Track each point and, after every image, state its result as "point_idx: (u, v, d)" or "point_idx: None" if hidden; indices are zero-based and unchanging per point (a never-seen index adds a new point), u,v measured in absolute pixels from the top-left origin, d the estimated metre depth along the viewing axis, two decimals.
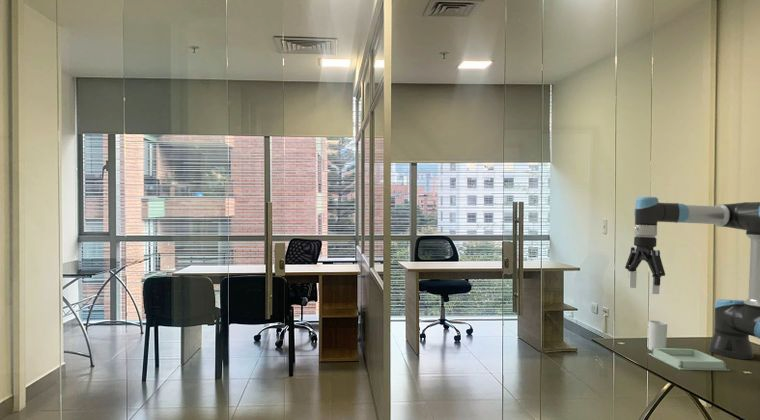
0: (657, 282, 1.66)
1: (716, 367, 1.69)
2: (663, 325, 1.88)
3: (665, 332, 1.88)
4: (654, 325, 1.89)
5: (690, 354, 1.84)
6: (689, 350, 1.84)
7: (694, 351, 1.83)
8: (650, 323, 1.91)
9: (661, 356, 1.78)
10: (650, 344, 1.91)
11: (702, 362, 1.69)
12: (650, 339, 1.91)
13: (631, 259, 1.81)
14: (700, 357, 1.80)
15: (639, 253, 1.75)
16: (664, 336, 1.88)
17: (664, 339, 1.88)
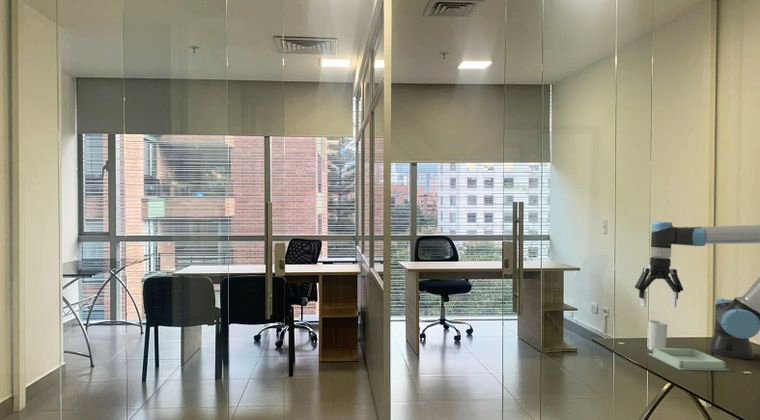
0: (639, 295, 1.92)
1: (716, 367, 1.69)
2: (663, 325, 1.88)
3: (665, 332, 1.88)
4: (654, 325, 1.89)
5: (690, 354, 1.84)
6: (689, 350, 1.84)
7: (694, 351, 1.83)
8: (650, 323, 1.91)
9: (661, 356, 1.78)
10: (650, 344, 1.91)
11: (702, 362, 1.69)
12: (650, 339, 1.91)
13: (673, 280, 1.94)
14: (700, 357, 1.80)
15: None
16: (664, 336, 1.88)
17: (664, 339, 1.88)
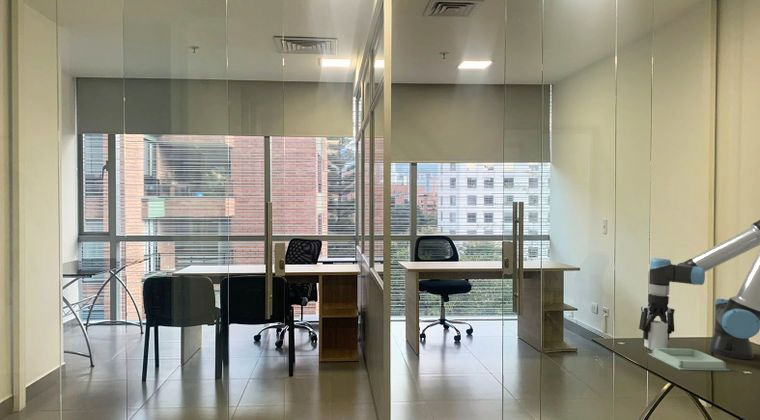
0: (643, 336, 1.93)
1: (716, 367, 1.69)
2: (664, 325, 1.88)
3: (665, 332, 1.88)
4: (655, 324, 1.89)
5: (690, 354, 1.84)
6: (689, 350, 1.84)
7: (694, 351, 1.83)
8: (651, 323, 1.91)
9: (661, 356, 1.78)
10: (650, 344, 1.91)
11: (702, 362, 1.69)
12: (650, 339, 1.91)
13: (668, 319, 1.94)
14: (700, 357, 1.80)
15: None
16: (664, 336, 1.88)
17: (664, 339, 1.88)
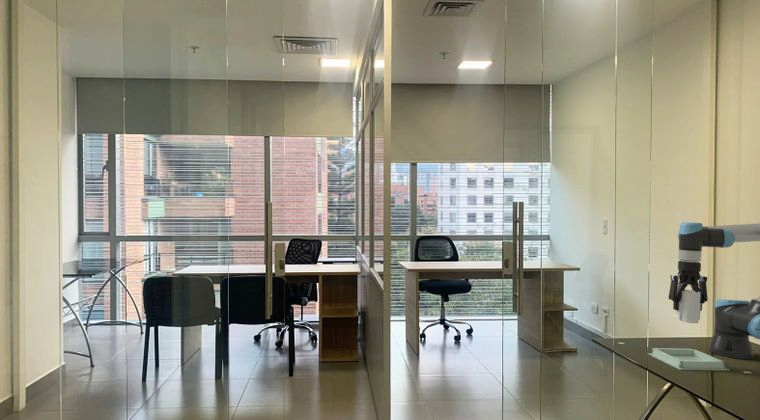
0: (674, 306, 1.77)
1: (716, 367, 1.69)
2: (696, 293, 1.73)
3: (698, 301, 1.73)
4: (686, 293, 1.74)
5: (690, 354, 1.84)
6: (689, 350, 1.84)
7: (694, 351, 1.83)
8: None
9: (661, 356, 1.78)
10: (681, 314, 1.76)
11: (702, 362, 1.69)
12: None
13: (700, 288, 1.78)
14: (700, 357, 1.80)
15: None
16: (697, 305, 1.73)
17: (697, 309, 1.73)
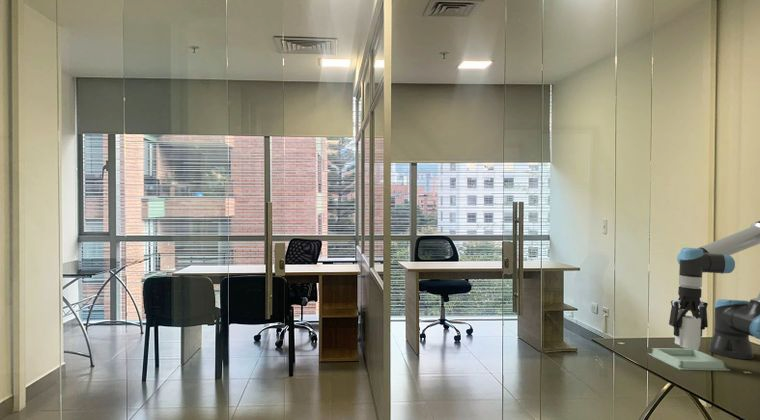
0: (674, 332, 1.77)
1: (716, 367, 1.69)
2: (697, 320, 1.72)
3: (699, 328, 1.73)
4: (687, 320, 1.74)
5: (690, 354, 1.84)
6: (689, 350, 1.84)
7: (694, 351, 1.83)
8: (682, 318, 1.75)
9: (661, 356, 1.78)
10: (682, 341, 1.75)
11: (702, 362, 1.69)
12: (682, 335, 1.75)
13: (700, 314, 1.78)
14: (700, 357, 1.80)
15: None
16: (698, 332, 1.72)
17: (698, 335, 1.72)
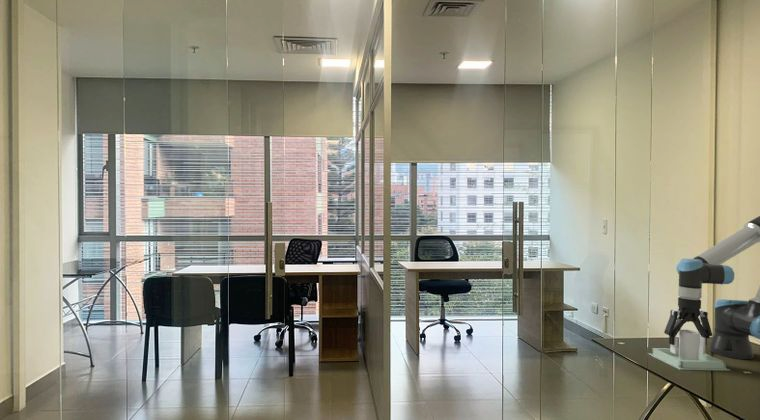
0: (669, 341, 1.77)
1: (716, 367, 1.69)
2: (696, 335, 1.72)
3: (698, 342, 1.73)
4: (686, 335, 1.73)
5: None
6: None
7: None
8: (681, 332, 1.75)
9: (661, 356, 1.78)
10: (681, 355, 1.75)
11: (702, 362, 1.69)
12: (681, 350, 1.75)
13: (702, 323, 1.78)
14: (700, 357, 1.80)
15: None
16: (697, 347, 1.72)
17: (697, 350, 1.72)
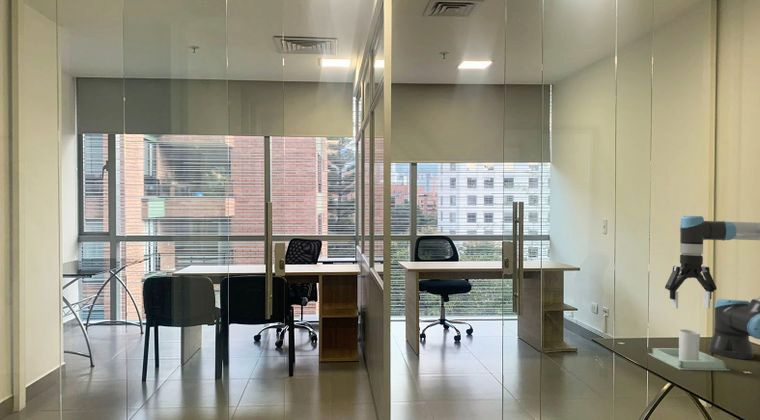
0: (670, 296, 1.77)
1: (716, 367, 1.69)
2: (696, 335, 1.72)
3: (698, 342, 1.73)
4: (686, 335, 1.73)
5: None
6: None
7: None
8: (681, 332, 1.75)
9: (661, 356, 1.78)
10: (681, 355, 1.75)
11: (702, 362, 1.69)
12: (681, 350, 1.75)
13: (706, 278, 1.79)
14: (700, 357, 1.80)
15: None
16: (697, 347, 1.72)
17: (697, 350, 1.72)
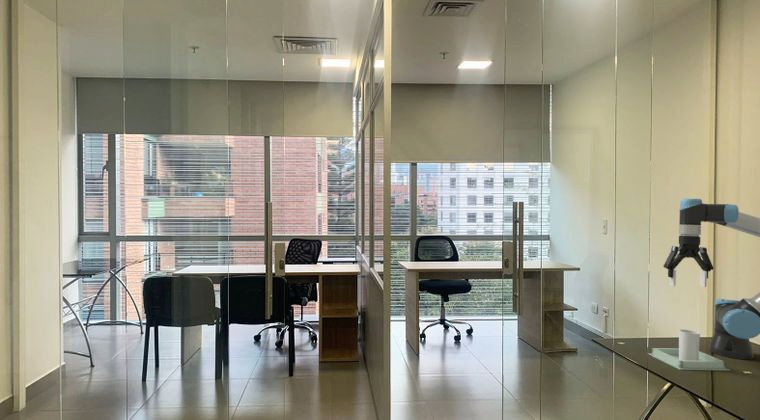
0: (668, 274, 1.87)
1: (716, 367, 1.69)
2: (696, 335, 1.72)
3: (698, 342, 1.73)
4: (686, 335, 1.73)
5: None
6: None
7: None
8: (681, 332, 1.75)
9: (661, 356, 1.78)
10: (681, 355, 1.75)
11: (702, 362, 1.69)
12: (681, 350, 1.75)
13: (703, 259, 1.88)
14: (700, 357, 1.80)
15: None
16: (697, 347, 1.72)
17: (697, 350, 1.72)
